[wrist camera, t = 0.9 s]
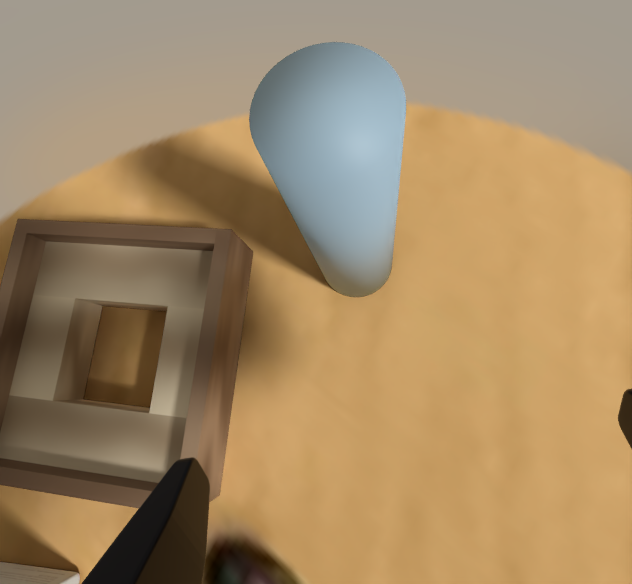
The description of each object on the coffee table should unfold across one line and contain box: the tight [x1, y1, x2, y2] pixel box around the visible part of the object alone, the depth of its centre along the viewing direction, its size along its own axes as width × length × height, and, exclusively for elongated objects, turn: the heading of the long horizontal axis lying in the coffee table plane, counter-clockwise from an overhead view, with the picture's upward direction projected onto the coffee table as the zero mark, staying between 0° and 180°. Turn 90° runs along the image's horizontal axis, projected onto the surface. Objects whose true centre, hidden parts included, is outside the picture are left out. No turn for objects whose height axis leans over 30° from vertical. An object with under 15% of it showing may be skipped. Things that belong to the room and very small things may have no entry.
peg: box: [249, 42, 406, 297], centre depth 18 cm, size 4×4×14 cm
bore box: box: [0, 219, 253, 508], centre depth 23 cm, size 14×13×4 cm
